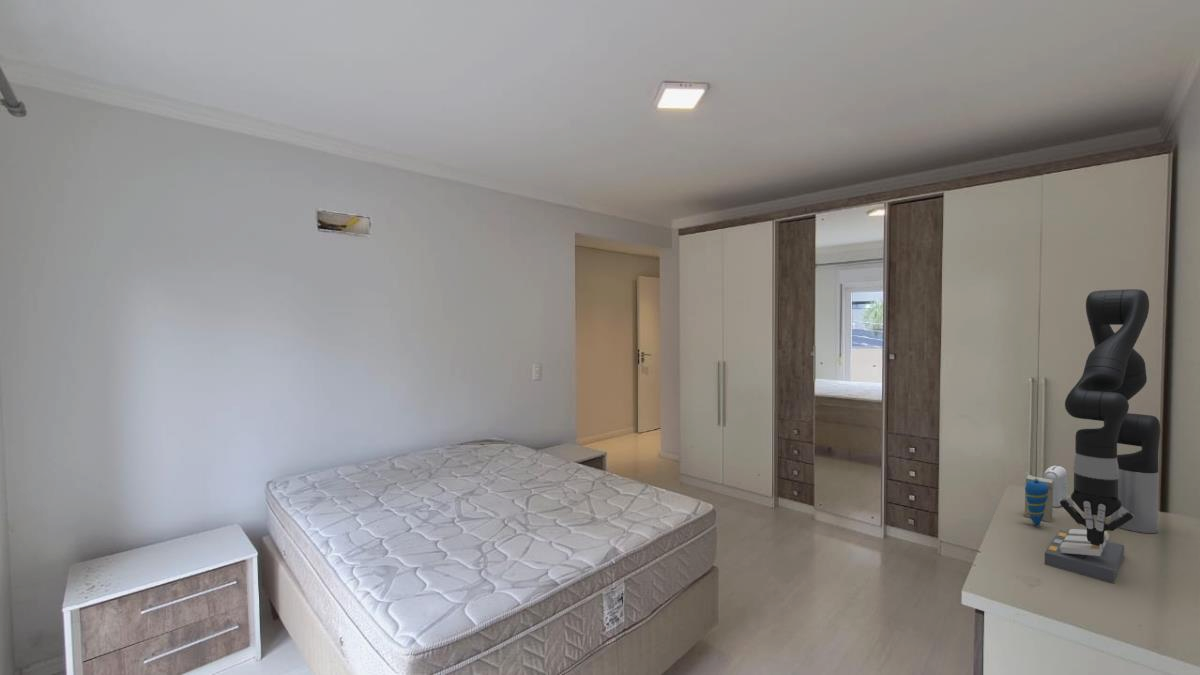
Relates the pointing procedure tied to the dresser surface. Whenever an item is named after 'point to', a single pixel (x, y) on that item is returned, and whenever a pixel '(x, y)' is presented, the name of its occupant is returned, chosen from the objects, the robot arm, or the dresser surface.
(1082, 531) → the rocker inner
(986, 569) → the dresser surface
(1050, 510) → the skincare box
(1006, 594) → the dresser surface
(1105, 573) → the switch unit
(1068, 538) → the rocker middle
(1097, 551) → the rocker outer
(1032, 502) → the ornament
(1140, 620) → the dresser surface
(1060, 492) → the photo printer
